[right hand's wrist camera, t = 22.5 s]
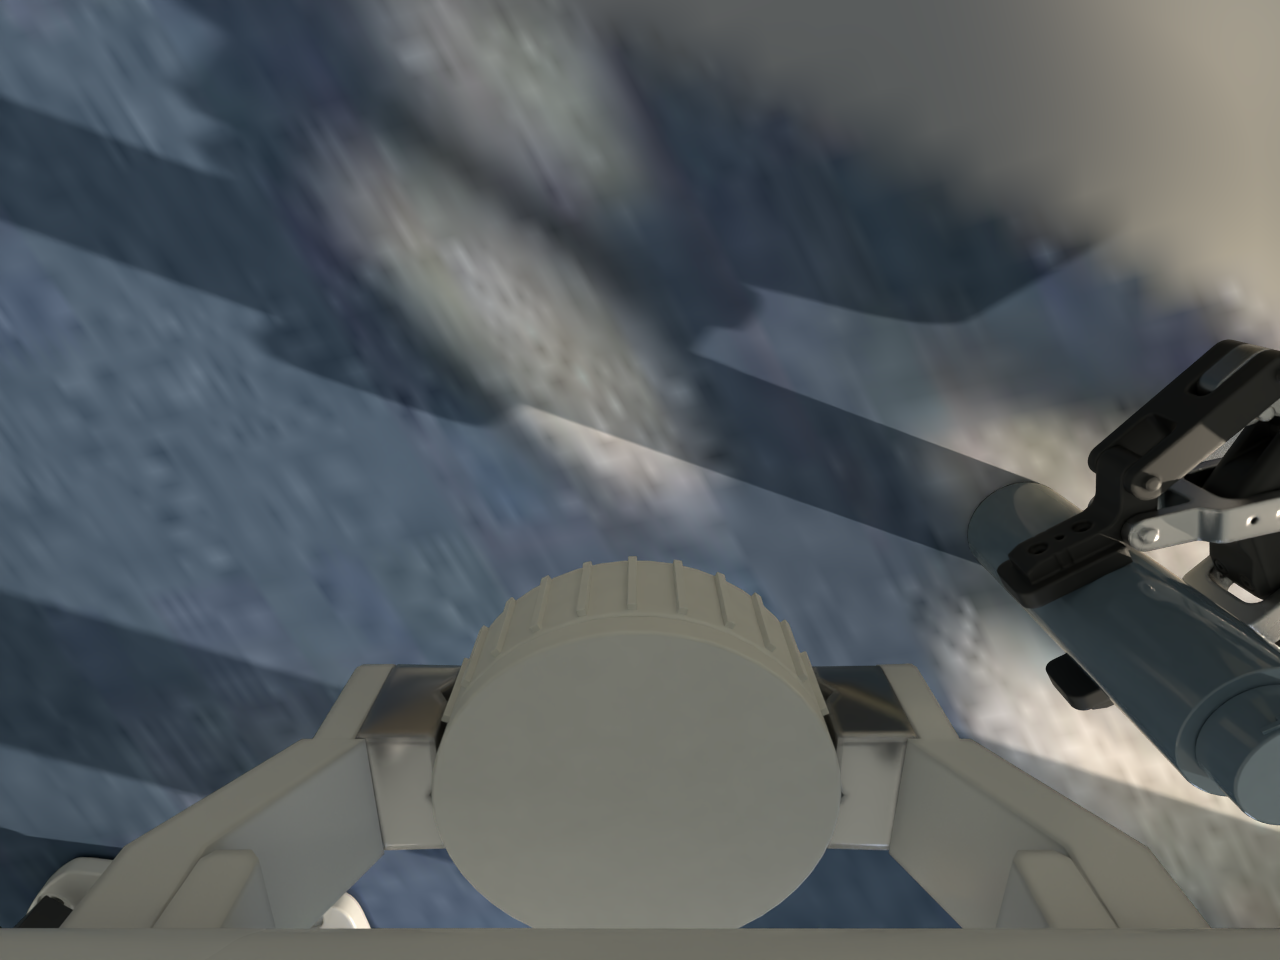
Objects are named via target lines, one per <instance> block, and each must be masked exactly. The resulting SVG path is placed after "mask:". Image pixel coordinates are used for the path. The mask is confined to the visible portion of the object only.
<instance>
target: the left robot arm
mask: <svg viewBox="0 0 1280 960" xmlns="http://www.w3.org/2000/svg"><path fill="white" fill-rule="evenodd" d="M1244 427H1245V428H1244ZM1243 428H1244V429H1243ZM1241 429H1243V431H1242V432H1241V433H1240V435H1239V436H1238V437H1237V439H1236V440H1235V441H1234V443H1233V444H1232V446H1231V447H1230V448H1229V450H1228V451H1227V452H1226V454H1225V455H1224V457H1222V458H1218V459H1213V460H1209V461H1205V462H1202V461H1203V460H1204V459H1206V458H1207V457H1208V456H1209V455H1211V454H1212V453H1213V452H1214V451H1215V450H1217V449H1218V448H1219V447H1220V446H1222V445H1223V444H1224V443H1225V442H1227V441H1228V440H1229V439H1230V438H1232V437H1233V436H1234V435H1235V434H1236V433H1238V432H1239V431H1240V430H1241ZM1088 466H1089V468H1090V469H1091V470H1092V471H1093V472H1095V473H1096V494H1095V496H1094V497H1093V498H1092V499H1091V501H1090V502H1089V504H1088V508H1087V509H1085V510H1084V511H1082V512H1081V513H1079V514H1077V515H1075V516H1073V517H1071V518H1069V519H1067V520H1065V521H1063V522H1061V523H1059V524H1057V525H1055V526H1053V527H1051V528H1049V529H1047V530H1046V531H1045V532H1041V533H1039V534H1037V535H1035V537H1031V538H1029V539H1027V540H1026V541H1024V542H1022V543H1020V544H1018V545H1017V546H1016V547H1015V548H1014V549H1013V550H1012V551H1011V552H1010V553H1009V554H1008V557H1009V560H1007V561H1005V562H1003V563H1002V564H1000V565H999V567H998V568H997V573H998V575H999V577H1000V579H1001V581H1002V583H1003V585H1004V587H1005V588H1006V589H1007V591H1008V592H1009V593H1010V594H1011V595H1012V596H1013V597H1014V598H1015V599H1016V600H1017V601H1018V602H1019V603H1020V604H1021V605H1022V606H1023V607H1025V608H1029V609H1035V608H1039V607H1042V606H1044V605H1046V604H1048V603H1050V602H1052V601H1054V600H1056V599H1058V598H1060V597H1062V596H1065V595H1067V594H1069V593H1071V592H1073V591H1075V590H1077V589H1079V588H1081V587H1083V586H1085V585H1087V584H1089V583H1091V582H1093V581H1095V580H1097V579H1099V578H1101V577H1103V576H1105V575H1107V574H1109V573H1111V572H1114V571H1116V570H1118V569H1120V568H1122V567H1124V566H1126V565H1128V564H1130V563H1132V562H1133V560H1132V558H1131V556H1130V553H1129V551H1128V550H1130V549H1132V548H1134V549H1135V550H1137V551H1141V552H1146V551H1151V550H1156V549H1160V548H1165V547H1170V546H1174V545H1179V544H1183V543H1188V542H1192V541H1207V542H1209V544H1210V555H1209V556H1208V557H1207V558H1205V559H1204V560H1203V561H1202V562H1200V563H1199V564H1198V565H1197V566H1195V567H1194V568H1193V569H1192V570H1190V571H1189V572H1188V573H1187V574H1186V575H1185V576H1184V577H1183V579H1182V580H1184V581H1185V582H1186V583H1188V584H1189V585H1191V586H1192V587H1194V588H1195V589H1196V590H1198V591H1199V592H1201V593H1202V594H1204V595H1205V596H1207V597H1208V598H1209V599H1211V600H1212V601H1214V602H1215V603H1217V604H1218V605H1220V606H1221V607H1222V608H1224V609H1225V610H1227V611H1228V612H1230V613H1231V614H1232V615H1234V616H1235V617H1237V618H1238V619H1240V620H1241V621H1243V622H1244V623H1245V624H1247V625H1248V626H1250V627H1251V628H1253V629H1254V630H1256V631H1257V632H1258V633H1260V634H1261V635H1263V636H1264V637H1266V638H1267V639H1268V640H1270V641H1271V642H1273V643H1274V644H1276V645H1277V646H1279V647H1280V351H1277V350H1273V349H1269V348H1264V347H1260V346H1256V345H1252V344H1247V343H1243V342H1239V341H1235V340H1224V341H1221V342H1219V343H1217V344H1216V345H1214V346H1213V347H1212V348H1211V349H1210V350H1209V351H1207V352H1206V353H1205V354H1204V355H1203V356H1202V357H1200V358H1199V359H1198V360H1197V361H1196V362H1194V363H1193V364H1192V365H1191V366H1190V367H1189V368H1187V369H1186V370H1185V371H1184V372H1183V373H1182V374H1180V375H1179V376H1178V377H1177V378H1176V379H1175V380H1173V381H1172V382H1171V383H1170V384H1169V385H1167V386H1166V387H1165V388H1164V389H1163V390H1162V391H1160V392H1159V393H1158V394H1157V395H1156V396H1155V397H1153V398H1152V399H1151V400H1150V401H1149V402H1148V403H1146V404H1145V405H1144V406H1143V407H1142V408H1141V409H1139V410H1138V411H1137V412H1136V413H1135V414H1133V415H1132V416H1131V417H1130V418H1129V419H1128V420H1126V421H1125V422H1124V423H1123V424H1122V425H1121V426H1119V427H1118V428H1117V429H1116V430H1115V431H1114V432H1112V433H1111V434H1110V435H1109V436H1108V437H1107V438H1105V439H1104V440H1103V441H1102V442H1101V443H1099V444H1098V445H1097V446H1096V447H1095V448H1094V449H1093V450H1092V451H1091V453H1090V455H1089V457H1088ZM1233 583H1236V584H1237V585H1239V586H1240V587H1242V588H1243V589H1245V590H1246V591H1248V592H1250V593H1251V594H1253V595H1254V596H1256V597H1258V598H1260V599H1262V600H1263V601H1261V602H1258V603H1246V602H1244V601H1242V600H1240V599H1239V598H1237V597H1236V596H1234V595H1233V594H1231V593H1230V592H1228V588H1229V587H1230V585H1232V584H1233ZM1046 672H1047V674H1048V676H1049V678H1050V680H1051V682H1052V684H1053V685H1054V686H1055V688H1056V689H1057V690H1058V691H1059V692H1060V693H1061V695H1062V696H1063V697H1064V698H1065V699H1066V700H1067V701H1068V703H1069V704H1070V705H1071V706H1072V707H1073V708H1075V709H1078V710H1089V709H1100V708H1107V707H1109V706H1112V705H1114V703H1113V702H1112V701H1111V700H1110V699H1109V698H1108V697H1107V696H1106V695H1105V694H1104V693H1103V692H1102V691H1101V690H1100V689H1099V688H1098V686H1097V685H1096V684H1095V683H1094V682H1093V681H1092V680H1091V679H1090V678H1089V677H1088V676H1087V675H1086V674H1085V673H1084V672H1083V671H1082V670H1081V669H1080V668H1079V667H1078V665H1077V664H1076V663H1075V662H1074V661H1073V660H1072V659H1071V658H1070V657H1069V656H1068V655H1067V654H1064V655H1062V656H1060V657H1058V658H1055V659H1053V660H1052V661H1050V662H1049V663H1048V664H1047V666H1046Z"/></svg>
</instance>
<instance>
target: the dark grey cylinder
mask: <svg viewBox="0 0 1280 960" xmlns="http://www.w3.org/2000/svg"><path fill="white" fill-rule="evenodd" d="M1082 511H1083V510H1081V509H1080V508H1078V507H1077V506H1075V505H1074V504H1073V503H1071V502H1070V501H1068V500H1067V499H1065V498H1064V497H1063V496H1061V495H1060V494H1058V493H1057V492H1055V491H1054V490H1052V489H1051V488H1049V487H1047V486H1045V485H1042V484H1038V483H1032V482H1023V483H1016V484H1011V485H1008V486H1005V487H1003V488H1001V489H999V490H997V491H995V492H994V493H992V494H991V495H989V496H988V497H987V498H986V499H985V500H984V501H983V502H982V503H981V504H980V505H979V506H978V508H977V509H976V511H975V512H974V514H973V516H972V518H971V521H970V523H969V528H968V543H969V547H970V550H971V552H972V554H973V555H974V557H975V558H976V559H977V560H978V561H979V563H980V564H981V565H982V566H983V567H984V568H985V569H986V570H987V571H988V572H989V573H990V574H991V575H992V576H993V577H994V578H995V579H996V580H997V581H998V582H999V584H1000V585H1001V586H1002V587H1003V588H1004V589H1005V590H1006V591H1007V589H1006V588H1005V587H1004V585H1003V583H1002V581H1001V579H1000V577H999V575H998V573H997V568H998V567H999V565H1000V564H1002V563H1003V562H1005V561H1007V560H1009V557H1008V554H1009V553H1010V552H1011V551H1012V550H1013V549H1014V548H1015V547H1016V546H1017V545H1018V544H1020V543H1022V542H1024V541H1026V540H1027V539H1029V538H1031V537H1035V535H1037V534H1039V533H1041V532H1045V531H1046V530H1047V529H1049V528H1051V527H1053V526H1055V525H1057V524H1059V523H1061V522H1063V521H1065V520H1067V519H1069V518H1071V517H1073V516H1075V515H1077V514H1079V513H1081V512H1082ZM1128 551H1129V553H1130V556H1131V558H1132V560H1133V562H1132V563H1130V564H1128V565H1126V566H1124V567H1122V568H1120V569H1118V570H1116V571H1114V572H1111V573H1109V574H1107V575H1105V576H1103V577H1101V578H1099V579H1097V580H1095V581H1093V582H1091V583H1089V584H1087V585H1085V586H1083V587H1081V588H1079V589H1077V590H1075V591H1073V592H1071V593H1069V594H1067V595H1065V596H1062V597H1060V598H1058V599H1056V600H1054V601H1052V602H1050V603H1048V604H1046V605H1044V606H1042V607H1039V608H1035V609H1029V608H1025V607H1023V606H1022V605H1021V604H1020V603H1019V602H1018V601H1017V600H1016V599H1015V598H1014V597H1013V596H1012V595H1011V594H1010V593H1009V592H1008V591H1007V592H1008V593H1009V594H1010V595H1011V596H1012V597H1013V598H1014V599H1015V600H1016V601H1017V602H1018V603H1019V605H1020V606H1021V607H1022V608H1023V609H1024V610H1025V611H1026V612H1027V613H1028V614H1029V615H1030V616H1031V617H1032V618H1033V619H1034V620H1035V621H1036V622H1037V623H1038V624H1039V626H1040V627H1041V628H1042V629H1043V630H1044V631H1045V632H1046V633H1047V634H1048V635H1049V636H1050V637H1051V638H1052V639H1053V640H1054V641H1055V642H1056V643H1057V644H1058V646H1059V647H1060V648H1061V649H1062V650H1063V651H1064V652H1065V653H1066V654H1067V655H1068V656H1069V657H1070V658H1071V659H1072V660H1073V661H1074V662H1075V663H1076V664H1077V665H1078V667H1079V668H1080V669H1081V670H1082V671H1083V672H1084V673H1085V674H1086V675H1087V676H1088V677H1089V678H1090V679H1091V680H1092V681H1093V682H1094V683H1095V684H1096V685H1097V686H1098V688H1099V689H1100V690H1101V691H1102V692H1103V693H1104V694H1105V695H1106V696H1107V697H1108V698H1109V699H1110V700H1111V701H1112V702H1113V703H1114V704H1115V705H1116V706H1117V707H1118V709H1119V710H1120V711H1121V712H1122V713H1123V714H1124V715H1125V716H1126V717H1127V718H1128V719H1129V720H1130V721H1131V722H1132V723H1133V724H1134V725H1135V726H1136V727H1137V729H1138V730H1139V731H1140V732H1141V733H1142V734H1143V735H1144V736H1145V737H1146V738H1147V739H1148V740H1149V741H1150V742H1151V743H1152V744H1153V745H1154V746H1155V747H1156V748H1157V750H1158V751H1159V752H1160V753H1161V754H1162V755H1163V756H1164V757H1165V758H1166V759H1167V760H1168V761H1169V762H1170V763H1171V764H1172V765H1173V766H1174V767H1175V768H1176V769H1177V771H1178V772H1179V773H1180V774H1181V775H1182V776H1183V777H1184V778H1185V779H1186V780H1187V781H1188V782H1189V783H1191V784H1192V785H1193V786H1195V787H1197V788H1199V789H1200V790H1203V791H1205V792H1208V793H1211V794H1215V795H1219V796H1227V797H1229V798H1230V799H1231V800H1232V801H1233V802H1234V803H1235V804H1236V805H1237V806H1238V807H1239V808H1240V809H1241V810H1242V811H1243V812H1244V813H1245V814H1246V815H1247V816H1249V817H1251V818H1253V819H1255V820H1257V821H1260V822H1262V823H1266V824H1271V825H1280V647H1279V646H1277V645H1276V644H1274V643H1273V642H1271V641H1270V640H1268V639H1267V638H1266V637H1264V636H1263V635H1261V634H1260V633H1258V632H1257V631H1256V630H1254V629H1253V628H1251V627H1250V626H1248V625H1247V624H1245V623H1244V622H1243V621H1241V620H1240V619H1238V618H1237V617H1235V616H1234V615H1232V614H1231V613H1230V612H1228V611H1227V610H1225V609H1224V608H1222V607H1221V606H1220V605H1218V604H1217V603H1215V602H1214V601H1212V600H1211V599H1209V598H1208V597H1207V596H1205V595H1204V594H1202V593H1201V592H1199V591H1198V590H1196V589H1195V588H1194V587H1192V586H1191V585H1189V584H1188V583H1186V582H1185V581H1184V580H1182V579H1181V578H1179V577H1178V576H1176V575H1175V574H1173V573H1172V572H1171V571H1169V570H1168V569H1166V568H1165V567H1163V566H1162V565H1160V564H1159V563H1158V562H1156V561H1155V560H1153V559H1152V558H1150V557H1149V556H1148V555H1146V554H1145V553H1143V552H1141V551H1137V550H1135V549H1134V548H1132V549H1130V550H1128Z"/></svg>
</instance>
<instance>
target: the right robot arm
mask: <svg viewBox="0 0 1280 960" xmlns="http://www.w3.org/2000/svg"><path fill="white" fill-rule="evenodd" d="M460 668H461V666H457V665H410V664H398V665H394V664H363V665H361V666H359V667H357V668H356V669H355V670H354V672H353V674H352V675H351V677H350V679H349V680H348V682H347V684H346V685H345V687H344V688H343V690H342V692H341V693H340V695H339V697H338V698H337V700H336V701H335V703H334V705H333V706H332V708H331V710H330V711H329V713H328V715H327V716H326V718H325V719H324V721H323V723H322V724H321V726H320V728H319V729H318V731H317V733H316V734H315V736H314V737H313V739H301V740H299V741H298V742H296V743H294V744H293V745H291V746H289V747H288V748H286V749H284V750H283V751H281V752H280V753H278V754H276V755H275V756H273V757H271V758H270V759H268V760H266V761H265V762H263V763H261V764H260V765H258V766H256V767H255V768H253V769H251V770H250V771H248V772H246V773H245V774H243V775H241V776H240V777H238V778H237V779H235V780H233V781H232V782H230V783H228V784H227V785H225V786H223V787H222V788H220V789H218V790H217V791H215V792H213V793H212V794H210V795H208V796H207V797H205V798H203V799H202V800H200V801H198V802H197V803H195V804H194V805H192V806H190V807H189V808H187V809H185V810H184V811H182V812H180V813H179V814H177V815H175V816H174V817H172V818H170V819H169V820H167V821H165V822H164V823H162V824H160V825H159V826H157V827H155V828H154V829H152V830H151V831H149V832H147V833H146V834H144V835H142V836H141V837H139V838H137V839H136V840H134V841H132V842H131V843H129V844H127V845H126V846H124V847H123V849H122V850H121V851H120V852H119V854H118V855H117V856H116V857H115V859H114V860H108V859H100V858H90V857H79V858H75V859H73V860H71V861H70V862H68V863H67V864H65V865H64V866H62V867H61V868H60V869H58V870H57V871H56V872H55V873H54V874H53V875H52V876H51V877H50V878H49V880H48V881H47V882H46V884H45V885H44V886H43V888H42V889H41V891H40V892H39V893H38V895H37V896H36V898H35V899H34V901H33V902H32V904H31V906H30V908H29V910H28V912H27V914H26V915H25V917H24V918H23V919H22V920H21V921H20V922H19V923H18V924H17V925H16V926H15V927H14V928H2V927H0V960H1280V928H1211V927H1210V926H1209V925H1208V923H1207V922H1206V921H1205V920H1204V918H1203V917H1202V916H1201V915H1200V913H1199V912H1198V911H1197V909H1196V908H1195V907H1194V906H1193V904H1192V903H1191V902H1190V900H1189V899H1188V898H1187V897H1186V895H1185V894H1184V893H1183V891H1182V890H1181V889H1180V888H1179V886H1178V885H1177V884H1176V883H1175V881H1174V880H1173V879H1172V877H1171V876H1170V875H1169V874H1168V872H1167V871H1166V870H1165V868H1164V867H1163V866H1162V865H1161V863H1160V862H1159V861H1158V860H1157V858H1156V857H1155V856H1154V854H1153V853H1152V852H1151V851H1150V849H1149V848H1148V847H1146V846H1145V845H1143V844H1141V843H1140V842H1138V841H1137V840H1135V839H1133V838H1132V837H1130V836H1128V835H1127V834H1125V833H1123V832H1122V831H1120V830H1119V829H1117V828H1115V827H1114V826H1112V825H1110V824H1109V823H1107V822H1106V821H1104V820H1102V819H1101V818H1099V817H1097V816H1096V815H1094V814H1092V813H1091V812H1089V811H1088V810H1086V809H1084V808H1083V807H1081V806H1079V805H1078V804H1076V803H1075V802H1073V801H1071V800H1070V799H1068V798H1066V797H1065V796H1063V795H1061V794H1060V793H1058V792H1057V791H1055V790H1053V789H1052V788H1050V787H1048V786H1047V785H1045V784H1043V783H1042V782H1040V781H1039V780H1037V779H1035V778H1034V777H1032V776H1030V775H1029V774H1027V773H1026V772H1024V771H1022V770H1021V769H1019V768H1017V767H1016V766H1014V765H1012V764H1011V763H1009V762H1008V761H1006V760H1004V759H1003V758H1001V757H999V756H998V755H996V754H994V753H993V752H991V751H990V750H988V749H986V748H985V747H983V746H981V745H980V744H978V743H977V742H975V741H973V740H972V739H960V738H959V736H958V735H957V733H956V731H955V730H954V728H953V726H952V725H951V723H950V721H949V720H948V718H947V716H946V715H945V713H944V712H943V710H942V708H941V707H940V705H939V703H938V702H937V700H936V698H935V697H934V695H933V693H932V692H931V690H930V688H929V687H928V685H927V683H926V682H925V680H924V678H923V677H922V675H921V674H920V672H919V670H918V669H917V667H915V666H914V665H912V664H885V665H876V666H812V669H813V671H814V674H815V677H816V679H817V682H818V685H819V687H820V690H821V693H822V695H823V698H824V701H825V703H826V706H827V709H828V711H829V714H827V715H824V716H823V717H824V720H825V723H826V725H827V728H828V732H829V734H830V737H831V739H832V742H833V745H834V748H835V751H836V754H837V759H838V764H839V768H840V773H841V800H840V808H839V815H838V819H837V822H836V826H835V829H834V832H833V836H832V838H831V840H830V842H829V844H828V846H827V848H830V849H865V850H889V854H890V855H891V856H892V857H893V858H894V859H895V860H896V861H897V862H898V863H899V864H900V865H901V866H902V867H903V868H904V869H905V870H906V871H907V872H908V873H909V874H910V875H911V876H912V877H913V878H914V879H915V880H916V881H917V882H918V883H919V884H920V885H921V886H922V887H923V888H924V889H925V890H926V891H927V892H928V893H929V894H930V896H931V897H932V898H933V899H934V900H935V901H936V902H937V903H938V904H939V905H940V906H941V907H942V908H943V909H944V910H945V911H946V912H947V913H948V914H949V915H950V916H951V917H952V918H953V919H954V920H955V921H956V922H957V923H958V924H959V925H960V926H961V927H962V928H963V929H756V928H370V925H369V923H368V921H367V919H366V916H365V914H364V912H363V910H362V908H361V907H360V905H359V904H358V902H357V901H356V900H355V898H354V897H352V896H351V895H350V894H348V893H346V892H347V891H348V890H349V889H350V888H351V887H352V886H353V885H354V884H355V883H356V882H357V881H358V880H359V879H360V878H361V877H362V876H363V875H364V874H365V873H366V872H367V871H368V870H369V869H370V868H371V867H372V866H373V865H374V864H375V863H376V862H377V861H378V859H379V858H380V857H381V856H382V855H383V854H384V850H407V849H442V848H446V847H445V845H444V843H443V841H442V839H441V837H440V834H439V830H438V827H437V824H436V820H435V817H434V810H433V803H432V795H431V794H432V773H433V768H434V763H435V759H436V754H437V751H438V748H439V745H440V742H441V740H442V737H443V734H444V732H445V728H446V726H447V723H446V722H443V721H441V719H442V717H443V714H444V711H445V709H446V706H447V703H448V701H449V698H450V695H451V693H452V690H453V687H454V685H455V682H456V679H457V676H458V674H459V671H460Z"/></svg>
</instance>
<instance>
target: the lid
mask: <svg viewBox="0 0 1280 960" xmlns="http://www.w3.org/2000/svg"><path fill="white" fill-rule="evenodd" d="M827 714H829V711H828V709H827V706H826V703H825V701H824V698H823V695H822V693H821V690H820V687H819V685H818V682H817V679H816V677H815V674H814V671H813V669H812V666H811V663H810V661H809V658H808V655H807V653H806V652H802V653H800V652H799V650H798V648H797V645H796V642H795V640H794V637H793V634H792V631H791V628H790V626H789V624H788V623H787V621H786V620H783V621H782V622H779V621H778V619H777V618H776V617H775V616H774V615H773V614H772V613H771V612H770V611H768V610H767V609H766V608H765V607H764V606H763V602H762V599H761V596H759V595H758V594H756V593H754V594H753V595H752V596H750V595H749V594H747V593H746V592H744V591H743V590H741V589H740V588H738V587H736V586H734V585H732V584H730V583H728V582H726V580H725V576H724V575H723V574H721V573H719V572H717V573H716V575H715V576H713V575H710V574H708V573H705V572H702V571H700V570H697V569H693V568H689V567H685V566H683V565H682V561H679V560H674V562H673V564H671V563H663V562H654V561H637V557H636V556H634V557H628V561H620V562H611V563H602V564H597V565H593V566H592V563H591V561H590V562H585V563H583V568H580V569H576V570H574V571H571V572H568V573H566V574H563V575H560V576H558V577H555V578H553V579H551V578H550V577H549V575H548V576H546V577H544V578H542V579H541V583H540V585H539V586H538V587H536V588H534V589H532V590H531V591H529V592H528V593H526V594H525V595H523V596H522V597H521V598H519V599H518V600H515V599H513V598H510V599H509V600H508V601H507V602H506V605H505V608H504V611H503V613H502V614H501V615H499V616H498V617H497V619H496V620H495V621H494V622H493V624H492V625H491V626H490V627H489V628H487V627H486V626H483V627H482V628H481V629H480V631H479V634H478V637H477V639H476V642H475V645H474V648H473V650H472V653H471V656H470V659H467V658H464V661H463V663H462V666H461V668H460V671H459V674H458V676H457V679H456V682H455V685H454V687H453V690H452V693H451V695H450V698H449V701H448V703H447V706H446V709H445V711H444V714H443V717H442V719H441V721H443V722H446V723H447V726H446V728H445V732H444V734H443V737H442V740H441V742H440V745H439V748H438V751H437V754H436V759H435V763H434V768H433V773H432V794H431V795H432V803H433V810H434V817H435V820H436V824H437V827H438V830H439V834H440V837H441V839H442V841H443V843H444V845H445V847H446V849H447V852H448V854H449V856H450V857H451V859H452V860H453V862H454V863H455V865H456V866H457V868H458V869H459V870H460V872H461V873H462V875H463V876H464V877H465V878H466V879H467V880H468V881H469V882H470V883H471V885H472V886H473V887H474V888H475V889H476V890H477V891H478V892H479V893H481V894H482V895H483V896H484V897H485V898H486V899H488V900H489V901H490V902H491V903H492V904H493V905H495V906H496V907H498V908H499V909H501V910H502V911H504V912H505V913H507V914H508V915H510V916H511V917H513V918H515V919H517V920H519V921H521V922H523V923H525V924H527V925H528V926H530V927H532V928H739V927H742V926H744V925H745V924H747V923H749V922H751V921H753V920H755V919H757V918H759V917H761V916H762V915H764V914H765V913H767V912H768V911H770V910H771V909H773V908H774V907H776V906H777V905H778V904H780V903H781V902H782V901H783V900H785V899H786V898H787V897H788V896H789V895H790V894H792V893H793V892H794V891H795V890H796V889H797V888H798V887H799V886H800V885H801V884H802V883H803V881H804V880H805V879H806V878H807V877H808V876H809V875H810V874H811V872H812V871H813V870H814V868H815V867H816V865H817V864H818V862H819V861H820V859H821V858H822V856H823V855H824V852H825V850H826V848H827V846H828V844H829V842H830V840H831V838H832V836H833V832H834V829H835V826H836V822H837V819H838V815H839V808H840V800H841V773H840V768H839V764H838V759H837V754H836V751H835V748H834V745H833V742H832V739H831V737H830V734H829V732H828V728H827V725H826V723H825V720H824V717H823V716H824V715H827Z"/></svg>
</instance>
